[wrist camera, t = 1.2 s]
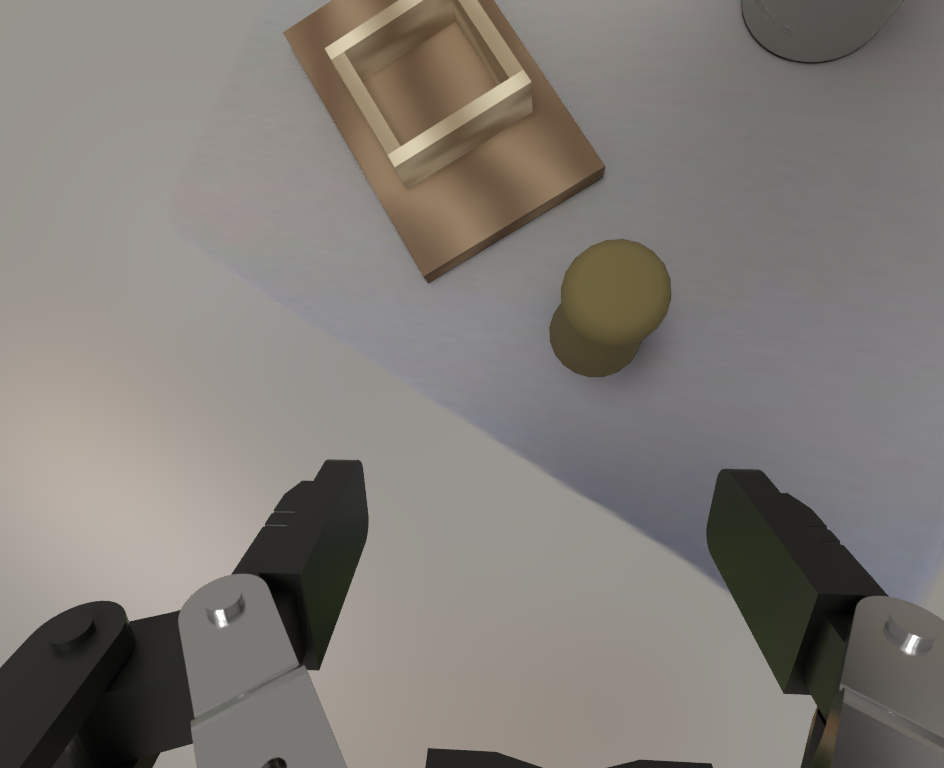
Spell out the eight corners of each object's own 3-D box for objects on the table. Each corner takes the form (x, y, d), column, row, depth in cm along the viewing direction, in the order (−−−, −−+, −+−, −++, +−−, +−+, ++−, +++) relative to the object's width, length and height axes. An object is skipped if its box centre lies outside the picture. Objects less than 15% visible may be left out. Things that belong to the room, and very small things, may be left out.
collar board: (448, -54, 38) (435, -118, 34) (602, 177, 35) (611, 140, 31) (292, 47, 39) (261, -2, 35) (428, 283, 36) (412, 261, 31)
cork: (534, 354, 34) (531, 316, 24) (572, 274, 35) (587, 200, 24) (618, 392, 33) (654, 370, 23) (657, 310, 34) (712, 249, 23)
